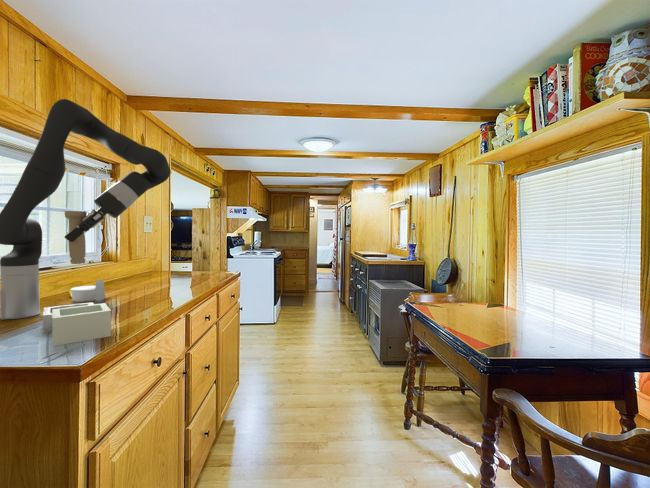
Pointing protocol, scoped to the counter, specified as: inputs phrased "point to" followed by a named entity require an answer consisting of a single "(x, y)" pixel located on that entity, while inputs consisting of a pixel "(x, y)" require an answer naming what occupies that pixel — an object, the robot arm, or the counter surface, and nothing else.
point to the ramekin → (83, 293)
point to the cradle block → (80, 323)
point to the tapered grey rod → (99, 292)
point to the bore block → (48, 315)
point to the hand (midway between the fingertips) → (67, 239)
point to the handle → (78, 245)
